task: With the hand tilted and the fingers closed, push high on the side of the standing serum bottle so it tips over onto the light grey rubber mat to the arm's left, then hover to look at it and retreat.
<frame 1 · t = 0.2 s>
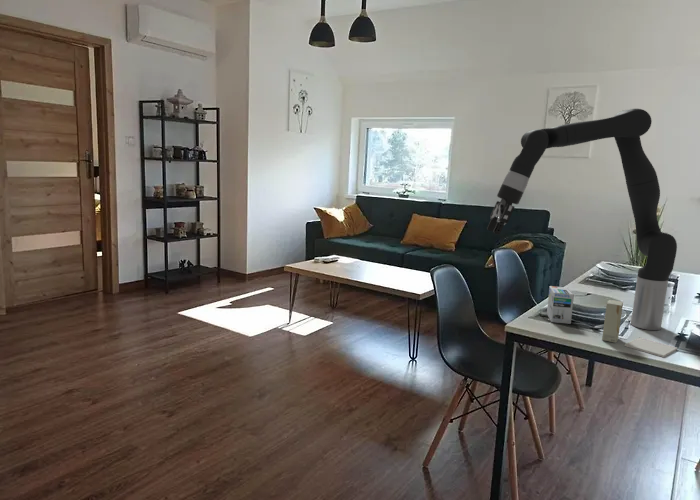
hand: (492, 232, 176), 31 cm above the table, tool tilted 20°, fingers open, 8 cm apart
light bulb box: (558, 319, 186), on the table
grey mat: (650, 347, 160), on the table
skincare box: (610, 339, 166), on the table
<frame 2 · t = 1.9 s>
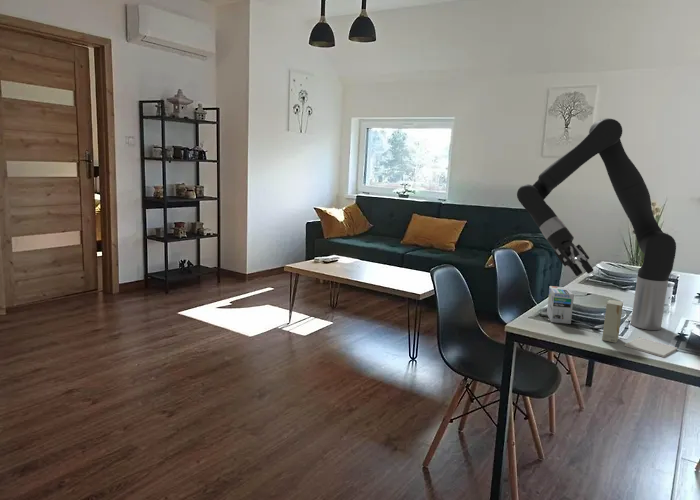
hand: (585, 273, 171), 19 cm above the table, tool tilted 45°, fingers open, 7 cm apart
nothing on the table moved.
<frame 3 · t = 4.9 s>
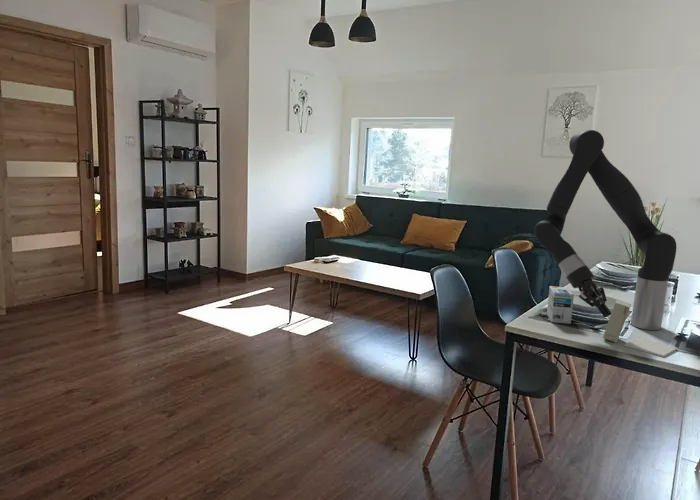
hand: (608, 315, 166), 7 cm above the table, tool tilted 45°, fingers closed
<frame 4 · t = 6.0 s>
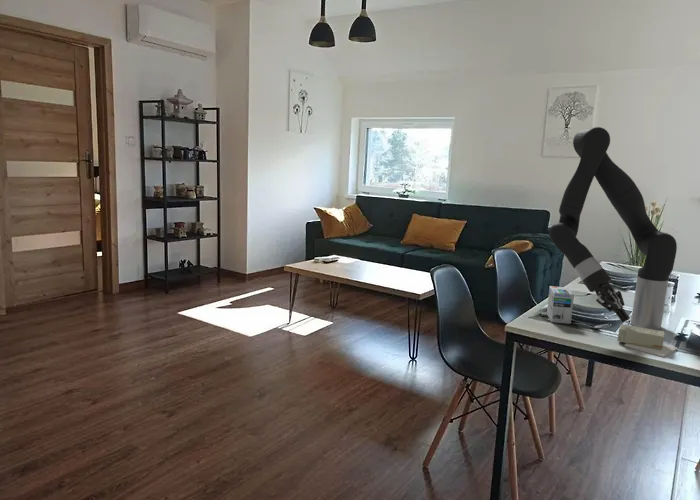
hand: (626, 320, 162), 7 cm above the table, tool tilted 45°, fingers closed
skincare box: (618, 332, 165), point 3 cm above the table, touching grey mat
everything else where it was.
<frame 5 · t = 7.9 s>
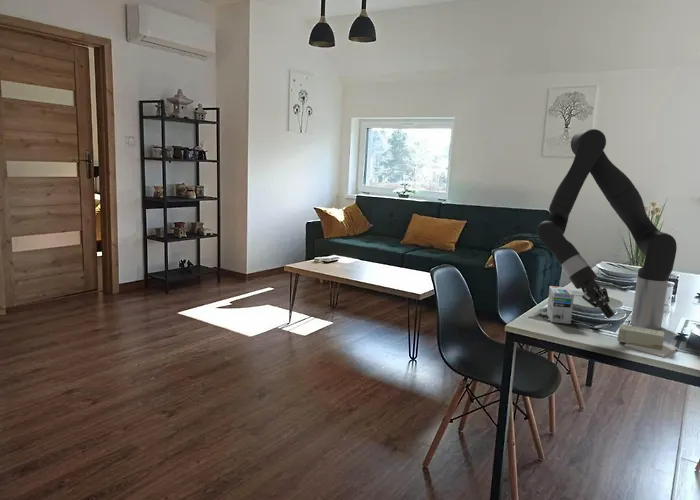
hand: (611, 316, 165), 7 cm above the table, tool tilted 45°, fingers closed
nothing on the table moved.
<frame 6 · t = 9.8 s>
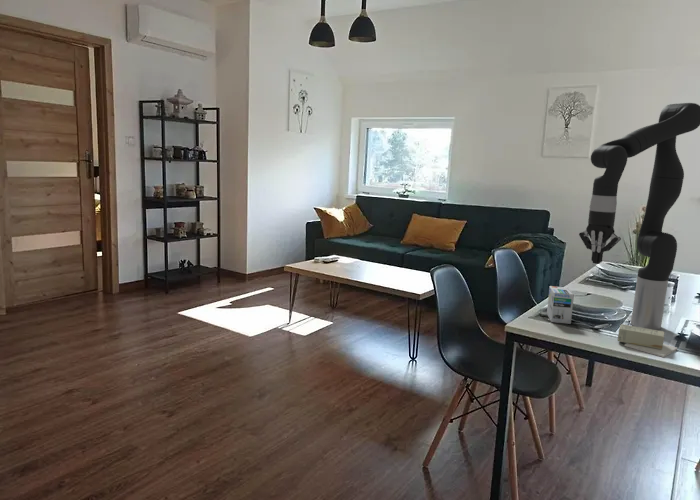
hand: (596, 263, 168), 23 cm above the table, tool pointing down, fingers closed
nothing on the table moved.
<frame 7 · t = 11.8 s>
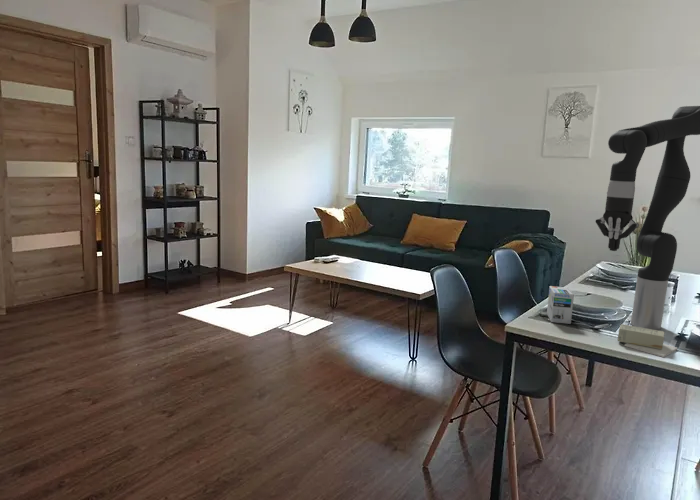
hand: (613, 250, 165), 28 cm above the table, tool pointing down, fingers closed
nothing on the table moved.
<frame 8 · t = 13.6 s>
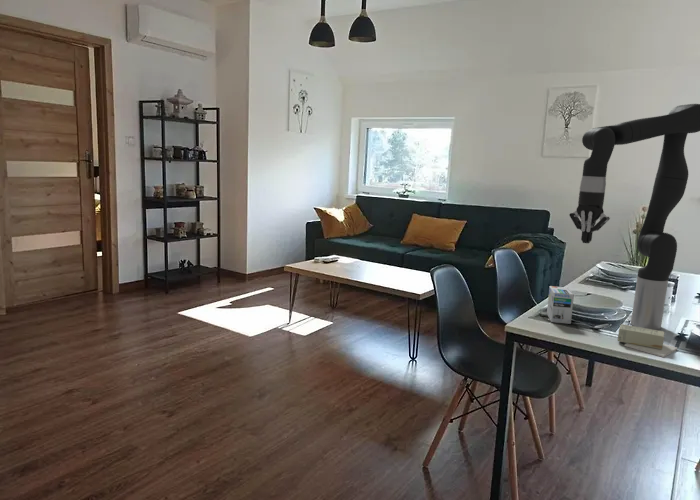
hand: (585, 242, 173), 29 cm above the table, tool pointing down, fingers closed
nothing on the table moved.
at the end: skincare box tilted 90°; skincare box inside the target area (8.3 cm from its centre), point 2.8 cm above the table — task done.
